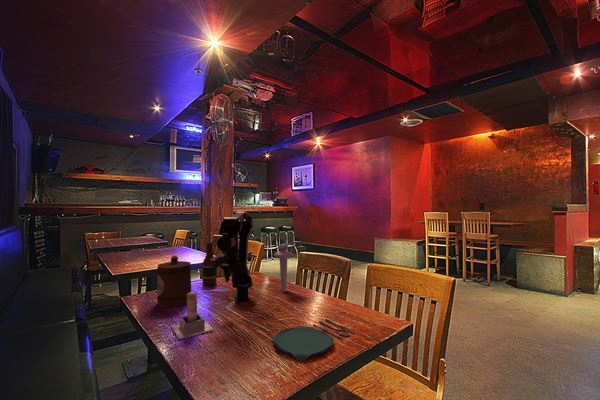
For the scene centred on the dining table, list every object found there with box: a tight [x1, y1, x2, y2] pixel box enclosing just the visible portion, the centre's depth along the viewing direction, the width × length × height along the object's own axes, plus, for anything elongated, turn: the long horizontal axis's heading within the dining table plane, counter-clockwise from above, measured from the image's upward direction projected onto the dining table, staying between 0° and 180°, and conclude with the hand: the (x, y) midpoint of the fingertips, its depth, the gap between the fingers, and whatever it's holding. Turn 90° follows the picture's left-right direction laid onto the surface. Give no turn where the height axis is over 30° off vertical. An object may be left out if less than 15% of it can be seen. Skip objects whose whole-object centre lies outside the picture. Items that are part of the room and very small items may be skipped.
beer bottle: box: [202, 242, 218, 287], centre depth 166 cm, size 8×8×24 cm
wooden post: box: [186, 291, 198, 323], centre depth 108 cm, size 4×4×12 cm
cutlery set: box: [271, 318, 356, 362], centre depth 100 cm, size 20×30×2 cm, turn 131°
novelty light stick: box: [273, 243, 294, 293], centre depth 153 cm, size 10×10×25 cm
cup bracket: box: [171, 313, 214, 340], centre depth 108 cm, size 12×12×4 cm
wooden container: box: [156, 255, 192, 308], centre depth 137 cm, size 15×15×22 cm
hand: (231, 284), depth 121 cm, fingers open, 9 cm apart
